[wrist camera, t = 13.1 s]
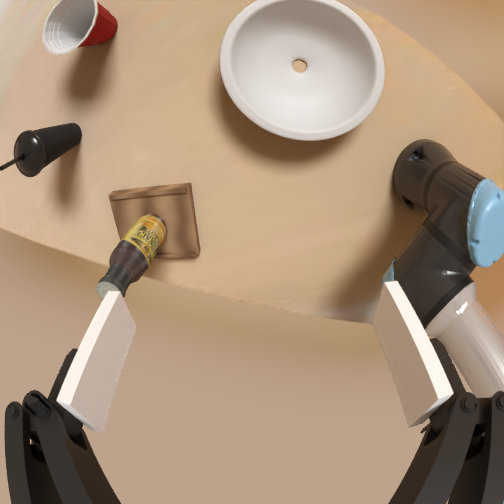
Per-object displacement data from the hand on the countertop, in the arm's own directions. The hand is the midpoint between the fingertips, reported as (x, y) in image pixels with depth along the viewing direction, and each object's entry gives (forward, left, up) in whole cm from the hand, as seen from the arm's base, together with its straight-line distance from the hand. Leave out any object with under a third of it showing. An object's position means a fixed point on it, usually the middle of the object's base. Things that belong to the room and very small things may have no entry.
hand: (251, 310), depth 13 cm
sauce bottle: (+19, +13, -35) cm, 41 cm away
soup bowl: (-8, -14, -37) cm, 40 cm away
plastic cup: (+25, -26, -37) cm, 52 cm away
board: (+19, +13, -37) cm, 43 cm away
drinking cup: (+34, -7, -37) cm, 50 cm away
